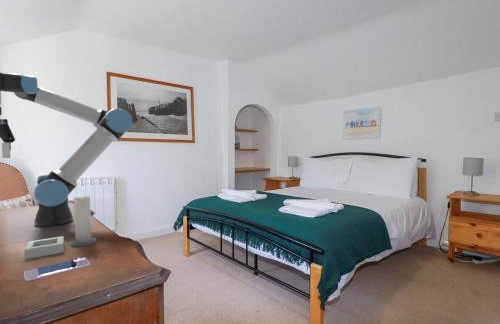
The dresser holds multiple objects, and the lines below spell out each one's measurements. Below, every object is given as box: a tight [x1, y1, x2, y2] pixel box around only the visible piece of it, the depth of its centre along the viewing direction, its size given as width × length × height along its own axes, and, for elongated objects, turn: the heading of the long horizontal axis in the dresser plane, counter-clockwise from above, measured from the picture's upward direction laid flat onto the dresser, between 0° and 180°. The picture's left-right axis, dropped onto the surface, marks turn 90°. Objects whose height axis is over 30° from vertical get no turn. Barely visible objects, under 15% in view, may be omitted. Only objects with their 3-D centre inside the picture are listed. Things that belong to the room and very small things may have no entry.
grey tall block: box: [73, 196, 93, 243], centre depth 100 cm, size 5×5×16 cm
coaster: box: [70, 237, 97, 248], centre depth 100 cm, size 8×8×1 cm
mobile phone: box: [23, 256, 91, 282], centre depth 78 cm, size 8×1×15 cm
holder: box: [24, 235, 65, 260], centre depth 92 cm, size 10×10×3 cm
